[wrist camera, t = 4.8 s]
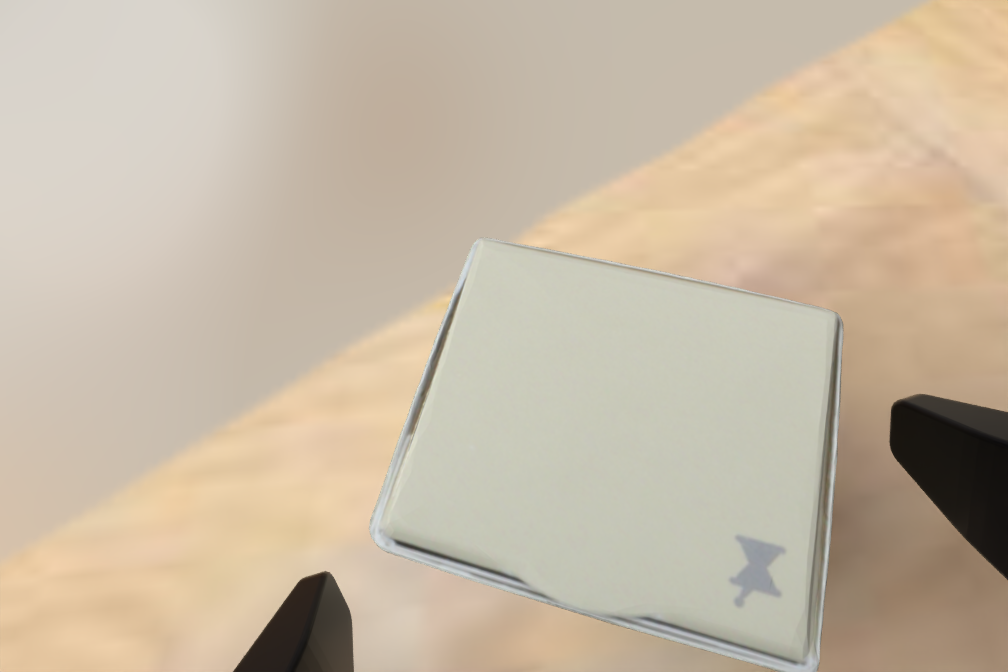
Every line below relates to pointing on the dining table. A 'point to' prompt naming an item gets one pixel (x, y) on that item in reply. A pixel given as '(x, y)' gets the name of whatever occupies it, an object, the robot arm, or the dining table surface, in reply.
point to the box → (627, 451)
